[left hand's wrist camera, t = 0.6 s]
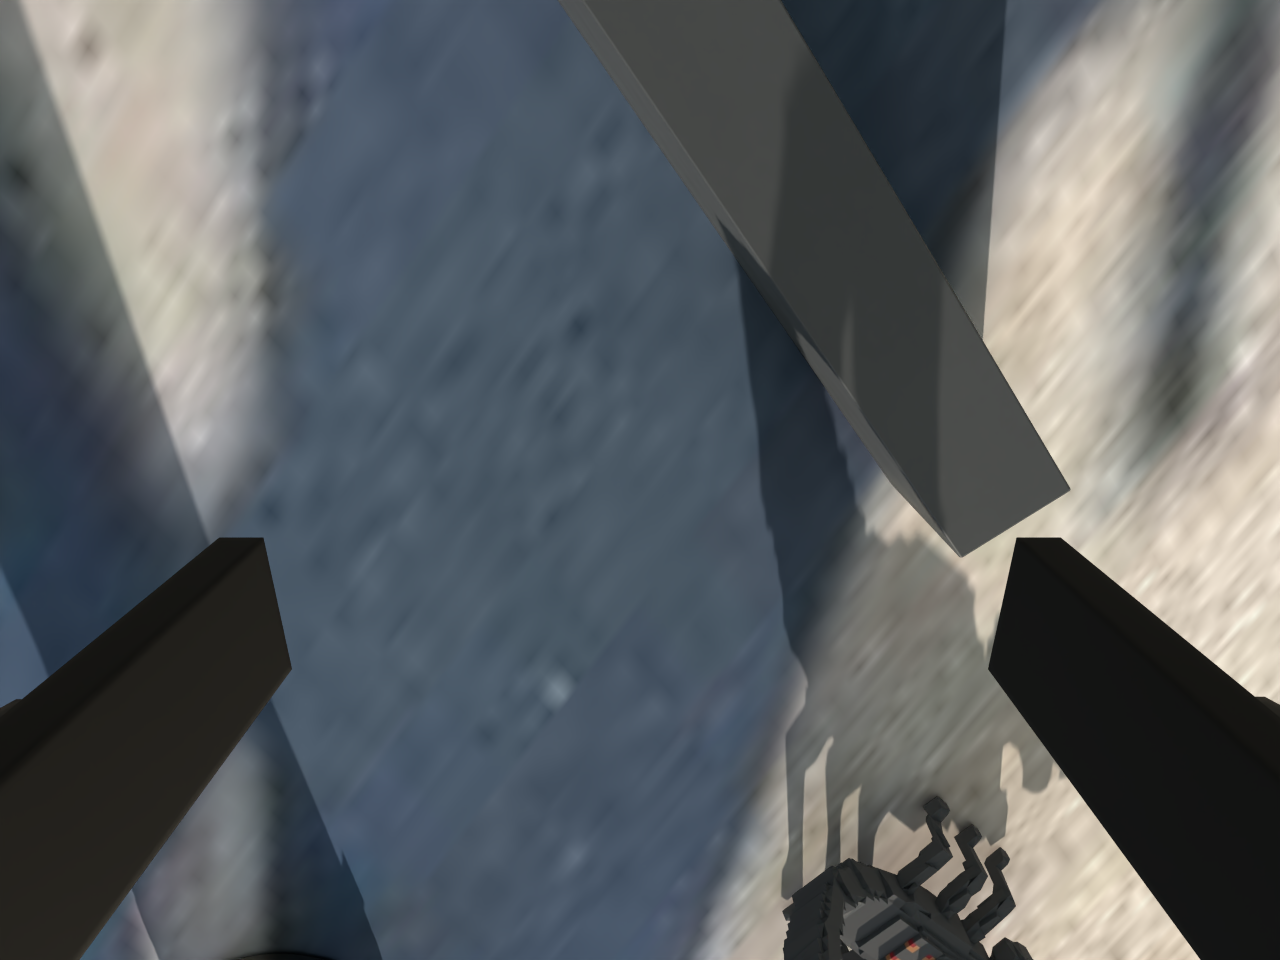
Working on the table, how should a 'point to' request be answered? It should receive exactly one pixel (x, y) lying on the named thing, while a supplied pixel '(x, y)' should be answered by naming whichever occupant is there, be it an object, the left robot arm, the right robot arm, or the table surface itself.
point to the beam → (829, 251)
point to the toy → (903, 907)
